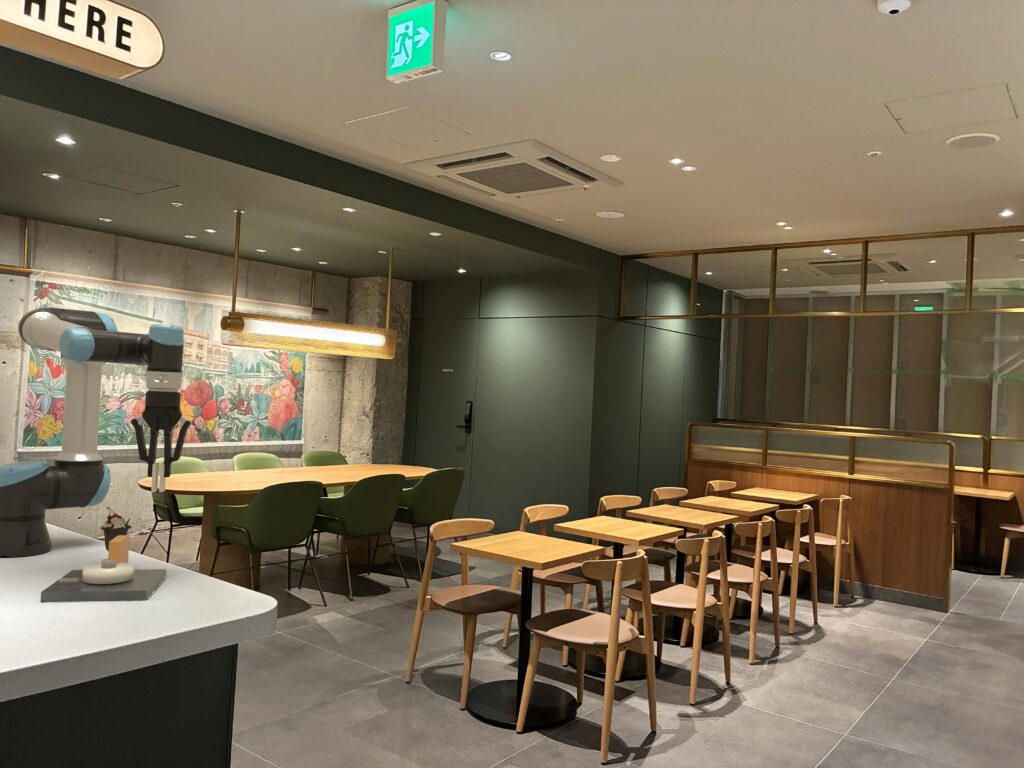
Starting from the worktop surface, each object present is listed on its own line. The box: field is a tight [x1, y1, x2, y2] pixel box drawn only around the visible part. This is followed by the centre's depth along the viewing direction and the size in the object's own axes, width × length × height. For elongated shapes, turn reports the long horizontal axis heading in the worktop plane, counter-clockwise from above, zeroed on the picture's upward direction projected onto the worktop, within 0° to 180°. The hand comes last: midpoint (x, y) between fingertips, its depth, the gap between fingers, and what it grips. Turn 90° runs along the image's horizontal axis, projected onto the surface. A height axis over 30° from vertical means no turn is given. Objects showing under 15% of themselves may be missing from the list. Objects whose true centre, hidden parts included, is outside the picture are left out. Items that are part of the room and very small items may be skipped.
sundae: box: [100, 506, 132, 552], centre depth 189 cm, size 7×7×15 cm
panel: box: [40, 568, 167, 603], centre depth 169 cm, size 20×20×2 cm
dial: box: [82, 534, 135, 584], centre depth 173 cm, size 17×10×7 cm, turn 14°
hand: (158, 491), depth 180 cm, fingers closed
